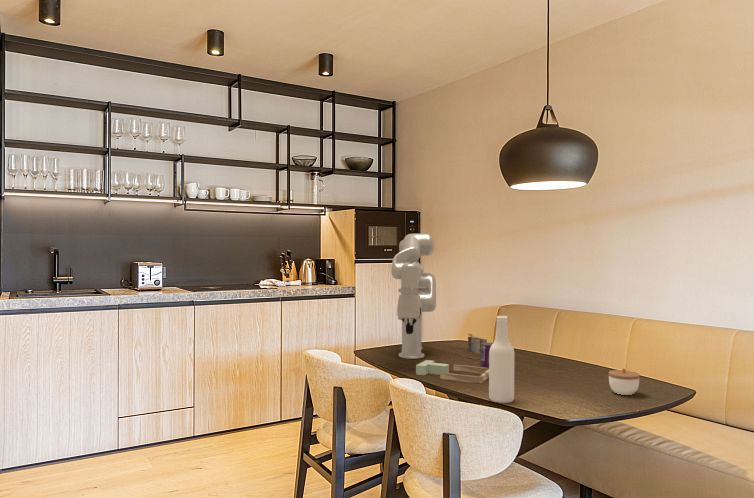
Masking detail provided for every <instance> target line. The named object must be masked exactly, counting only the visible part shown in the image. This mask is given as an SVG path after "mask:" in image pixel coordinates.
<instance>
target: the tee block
mask: <svg viewBox="0 0 754 498" xmlns="http://www.w3.org/2000/svg"><path fill="white" fill-rule="evenodd" d="M441 372H442V373H450V364H448V363H439V362H435V360H430V359H425V360H423V361H422V362H420V363H418V364H416V365H415V375H418V376H424V375H425V376H427V375H429V374H430V375H436V376H438V375H439V376H440V373H441ZM428 373H429V374H428ZM426 374H427V375H426Z"/></svg>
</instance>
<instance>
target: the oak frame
mask: <svg viewBox="0 0 754 498" xmlns="http://www.w3.org/2000/svg"><path fill="white" fill-rule="evenodd" d="M452 370H453V371H454V372H461V373H462V372H463V373H464V372H465V373H471V374H472V373H473V374H481V375H479V376H477V375H468V374H461V373H460V374H459V373H450V372H449V373H442V372H441V373H440V375H439V379H440V380H445V381H453V382H454V381H455V382H463V383H471V384H483V383H484V382H485V381H487V380H489V368H485V367H480V366H473V365H472V366H471V365H465V364H464V365H463V364H453V369H452Z"/></svg>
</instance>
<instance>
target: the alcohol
mask: <svg viewBox="0 0 754 498" xmlns="http://www.w3.org/2000/svg"><path fill="white" fill-rule="evenodd" d="M495 318H496V323H495V324H496V325H495V326H496V327H495V337H494V341H493V342H492V343H493V344H492V345H491V347H490V351H489V378H488V398H489V399H490V401H491V402H493V403H497V402H498V404H509V403H512V402H514V400H515V349H514V347H513V346H512V344H511V343H510V340H509V328H508V327H509V326H508V322H509V320H508V316H507V315H497V316H496V317H495Z"/></svg>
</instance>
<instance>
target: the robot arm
mask: <svg viewBox="0 0 754 498" xmlns="http://www.w3.org/2000/svg"><path fill="white" fill-rule="evenodd" d="M434 243H435V242H434V238H433V236H432V235H431V234H430V233H408V234H407V235H405V236H404V238H403V239H402V240H401V241H399V244H398V246H399V247H398V248H399V251H398V252H397V254H395V256H394V257H393V258H392V261H391V269H390V271H391V273H390V274H391V276H392V278H393V279H395V280H401V281H400V285H401V287H400V288H398V292H399V293H400V294H399V295H398V300H397V309H396V315H397V319H398V321H401V352H399V353H398V357H399V358H402V359H407V360H408V359H409V360H410V359H411V360H413V359H415V360H416V359H422V358H424V357H425V353H423V352H422V350H423V346H422V313H424V312H425V313H426V312H428V313H431V312H434V311H435V310H436V307H437V282H436V277H435V275H434V274H433V273H429V272H428V273H427V272H424V267H423V266H422V264H421V263H420V262H419V261H418V260H419V259H420V257H421V256H422V257H423V256H426V257H427V256H429V257H430V256H431V255H433V253H434V249H435V246H434V245H435V244H434Z"/></svg>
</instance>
